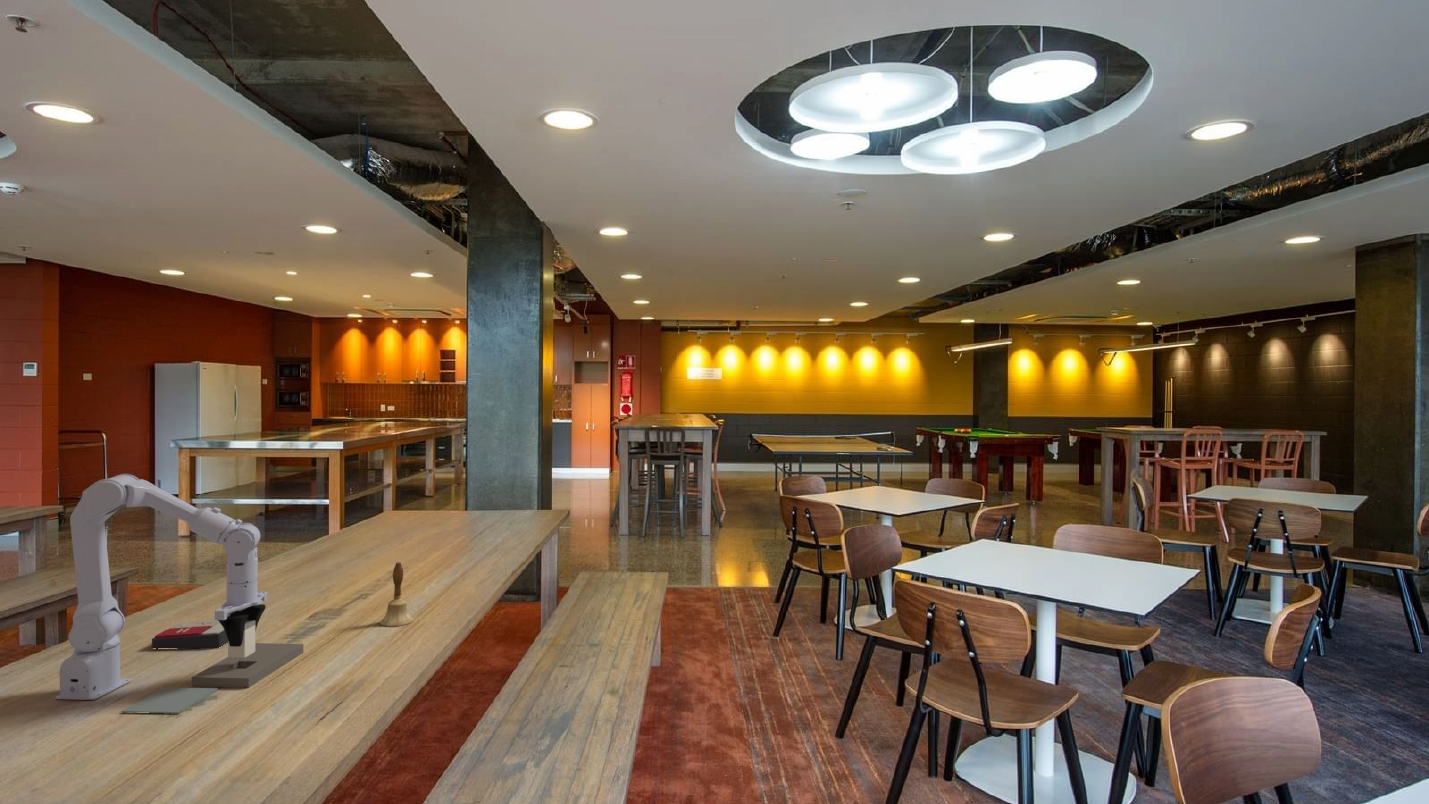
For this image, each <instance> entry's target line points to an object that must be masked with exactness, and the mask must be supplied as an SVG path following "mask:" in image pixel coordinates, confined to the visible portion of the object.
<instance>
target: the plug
mask: <svg viewBox="0 0 1429 804" xmlns="http://www.w3.org/2000/svg"><path fill="white" fill-rule="evenodd" d="M255 643H256V632H255V620H246V623H245V626H244V631H243V640H242V644H241V646H239V647H233V646H230V645H229V641H228V643H227V657H231V658H245V657H247V656H249V655H250V654H252V653H254V652H255Z"/></svg>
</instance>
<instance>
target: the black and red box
mask: <svg viewBox="0 0 1429 804" xmlns="http://www.w3.org/2000/svg"><path fill="white" fill-rule="evenodd" d="M226 643H227V644H228V638H227V635H226V632H225V630H224V628H223V626H222V625H221V624H220V622H219V621H218V620H215V619H212V620H211V619H209V620H202V621H201V620H198V621H197V620H195V621H181V622H178V623H176V624H175V625H173V626H171V627H169V628H168V629H164V630H162V631H161V632H159V633H157V634H156V635H154V637H153V638H151V648H156V649H158V648H190V649H200V648H210V649H220V648H219V647H221V646H222V647H224V646H225V645H227V644H226ZM224 644H225V645H224ZM223 645H224V646H223ZM222 647H221V648H222Z"/></svg>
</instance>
